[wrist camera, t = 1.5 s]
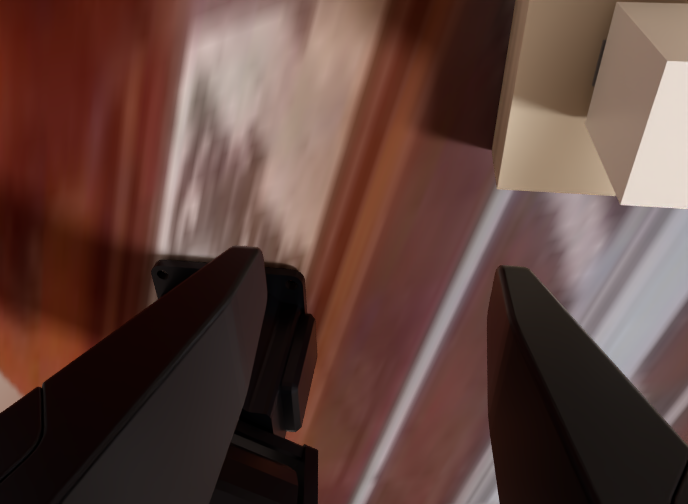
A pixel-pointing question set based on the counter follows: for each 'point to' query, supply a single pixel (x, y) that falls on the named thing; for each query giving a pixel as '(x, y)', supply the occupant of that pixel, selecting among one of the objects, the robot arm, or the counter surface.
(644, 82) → the switch
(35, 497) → the robot arm
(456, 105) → the counter surface
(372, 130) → the counter surface
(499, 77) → the counter surface
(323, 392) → the counter surface
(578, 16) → the switch board
